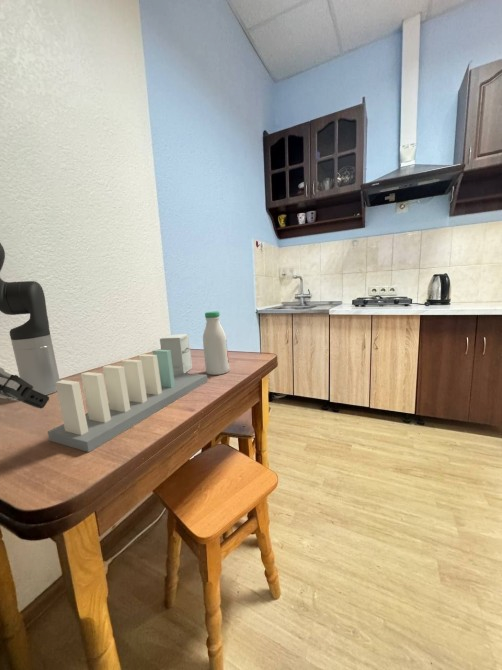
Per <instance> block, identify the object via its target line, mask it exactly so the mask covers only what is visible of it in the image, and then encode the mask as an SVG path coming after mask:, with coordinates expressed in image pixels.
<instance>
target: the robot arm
mask: <svg viewBox="0 0 502 670" xmlns="http://www.w3.org/2000/svg"><path fill="white" fill-rule="evenodd" d="M5 260H6V252H5V249H4V246H3V245H2V243H1V242H0V272H1V271H2V269H3V266H4V262H5ZM45 297H46V295H45V292H44V290H43V287H42V285H41V284H40V283H39V282H37V281H34V280H27V281H26V280H25V281H23V280H22V281H11V282H10V281H5V280H3V279H2V278H1V277H0V312H1V313H2V314H4V315H7V316H8V315H10V316H12V315H13V316H17V315H28V314H29V318H28V320H27V321H26V322H24V323H22V324H20V325H19V326H16V327H15V326H14V327H13V328H11V329H10V330H9V336H10V341H11V345H12V350H13V354H14V358H15V362H16V363H15V364H16V367H17V371H18V375H17V374H11V373H9V372H7V371H6V370H5V369H4V368H2V367H0V398H1V399H9V400H10V401H15V402H20V403H23V404H26V405H29V406H31V407H33V408H37V409H44V407H45V406H46V405H47V403H48V402H49V401H50V400H49V399H50V397H49V396H48V395H52V394H54V393H57V389H56V384H55V382H58V381H61V380H60V375H59V370H58V365H57V360H56V355H55V351H54V346H53V341H52V337H51V331H50V324H49V323H50V321H49V317H48V312H47V311H48V310H47V305H46V304H47V302H46V298H45Z"/></svg>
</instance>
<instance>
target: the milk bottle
mask: <svg viewBox="0 0 502 670" xmlns="http://www.w3.org/2000/svg"><path fill="white" fill-rule="evenodd" d="M204 317H205V329H204V331H203V335H202V343H203V345H202V347H203V355H204V364H205V372H206V375H211V376H217V375H223V374H226V373H228V372H229V371H230V361H229V350H228V343H227V335H226V332H225V330H224V328H223V326H222V325H221V322H220V317H221V316H220V312H219V311H207V312H205V313H204Z"/></svg>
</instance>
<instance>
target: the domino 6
mask: <svg viewBox="0 0 502 670" xmlns="http://www.w3.org/2000/svg"><path fill="white" fill-rule="evenodd" d="M152 355H157V360H158V367H159V374H160V382H161V387H169V388H172V387H174V386H175V382H174V374H173V366H172V358H171V351H170V350H161V349H154V350H152Z"/></svg>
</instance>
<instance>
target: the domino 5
mask: <svg viewBox="0 0 502 670" xmlns="http://www.w3.org/2000/svg"><path fill="white" fill-rule="evenodd" d="M137 358H138V359H137V360H141V361H142V368H143V375H144V381H145V388H146V393H148V394H155V395H159V394H161V393H162V389H161V382H160V374H159V367H158V360H157V355H153V354H148V353H147V354H145V353H143V354H139V355H137Z"/></svg>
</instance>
